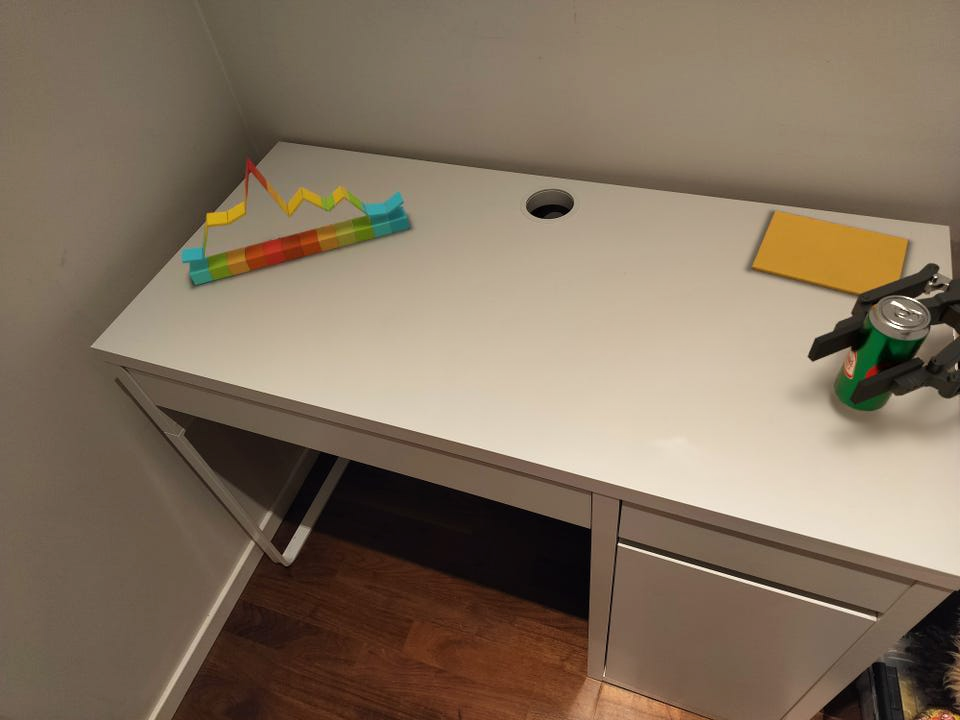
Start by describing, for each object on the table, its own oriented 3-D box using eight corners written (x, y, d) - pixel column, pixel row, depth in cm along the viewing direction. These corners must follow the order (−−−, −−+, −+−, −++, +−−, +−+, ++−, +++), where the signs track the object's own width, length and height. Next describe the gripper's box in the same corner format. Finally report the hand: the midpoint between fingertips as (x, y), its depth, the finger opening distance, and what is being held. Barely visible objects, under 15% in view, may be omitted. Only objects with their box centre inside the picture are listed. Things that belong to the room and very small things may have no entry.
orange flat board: (907, 241, 84) (908, 239, 84) (893, 304, 78) (894, 302, 77) (774, 212, 90) (775, 210, 90) (751, 268, 84) (752, 266, 83)
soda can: (840, 368, 71) (881, 285, 62) (892, 387, 68) (942, 304, 59) (824, 401, 68) (864, 319, 59) (878, 422, 66) (927, 341, 57)
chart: (404, 215, 98) (383, 121, 86) (409, 228, 96) (388, 133, 84) (195, 270, 94) (144, 179, 83) (195, 285, 92) (143, 194, 81)
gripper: (1095, 379, 63) (892, 468, 60) (943, 265, 75) (764, 334, 71) (1147, 325, 58) (927, 420, 54) (974, 210, 69) (781, 282, 65)
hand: (835, 371), depth 62 cm, fingers closed on soda can, 5 cm apart
